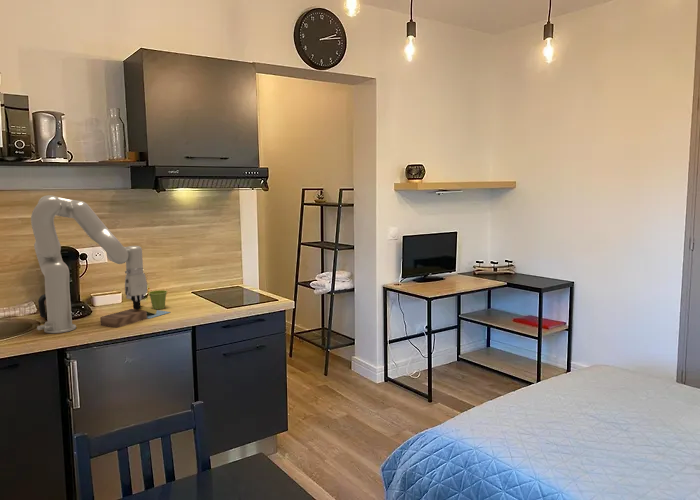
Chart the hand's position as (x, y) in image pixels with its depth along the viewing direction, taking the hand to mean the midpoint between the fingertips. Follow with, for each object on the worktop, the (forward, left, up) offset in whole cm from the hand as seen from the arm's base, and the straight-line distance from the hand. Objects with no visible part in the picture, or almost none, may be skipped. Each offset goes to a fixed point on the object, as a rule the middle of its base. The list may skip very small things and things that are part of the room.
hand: (137, 308), depth 256 cm
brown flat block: (-8, 0, -5) cm, 9 cm away
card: (+5, 0, -3) cm, 6 cm away
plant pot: (+20, +7, -5) cm, 22 cm away
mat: (+9, 0, -5) cm, 10 cm away
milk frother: (-20, +29, -5) cm, 35 cm away
